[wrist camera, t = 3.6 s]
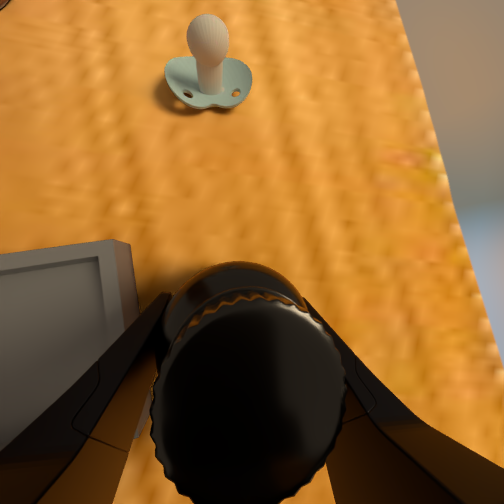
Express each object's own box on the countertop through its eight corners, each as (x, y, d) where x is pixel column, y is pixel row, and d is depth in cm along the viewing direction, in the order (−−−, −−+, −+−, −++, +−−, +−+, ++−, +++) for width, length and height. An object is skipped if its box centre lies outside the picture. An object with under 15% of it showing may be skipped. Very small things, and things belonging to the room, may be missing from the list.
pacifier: (164, 64, 17) (176, 120, 17) (135, -50, 11) (151, 33, 11) (239, 64, 19) (252, 116, 18) (248, -38, 13) (267, 36, 12)
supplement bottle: (172, 325, 15) (1, 521, 3) (212, 251, 16) (192, 199, 4) (246, 358, 16) (325, 616, 4) (279, 286, 17) (416, 319, 5)
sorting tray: (152, 408, 14) (138, 437, 12) (-65, 474, 12) (-141, 529, 9) (130, 244, 15) (112, 239, 13) (-76, 273, 13) (-147, 274, 10)
